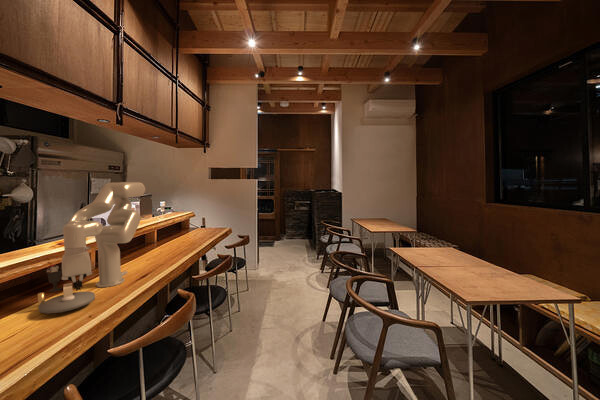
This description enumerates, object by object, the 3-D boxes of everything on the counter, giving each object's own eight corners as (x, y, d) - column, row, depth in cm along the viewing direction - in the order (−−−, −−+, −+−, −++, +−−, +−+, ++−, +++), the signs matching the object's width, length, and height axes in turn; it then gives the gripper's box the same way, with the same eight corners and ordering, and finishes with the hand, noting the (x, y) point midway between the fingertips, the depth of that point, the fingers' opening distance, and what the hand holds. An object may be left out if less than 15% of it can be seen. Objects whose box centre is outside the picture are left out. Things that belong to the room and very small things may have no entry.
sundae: (42, 291, 129) (41, 262, 128) (59, 287, 135) (57, 259, 134) (50, 293, 126) (49, 263, 126) (67, 288, 133) (65, 260, 132)
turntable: (61, 295, 120) (60, 283, 120) (105, 291, 124) (104, 280, 124) (26, 315, 101) (25, 301, 100) (79, 310, 105) (78, 297, 104)
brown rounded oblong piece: (56, 302, 117) (55, 287, 117) (85, 304, 115) (84, 288, 115) (36, 310, 109) (35, 294, 109) (67, 312, 107) (66, 296, 107)
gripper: (95, 246, 125) (97, 282, 127) (53, 252, 115) (56, 291, 117) (97, 249, 120) (99, 287, 121) (52, 255, 110) (55, 297, 111)
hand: (78, 289), depth 119 cm, fingers closed
